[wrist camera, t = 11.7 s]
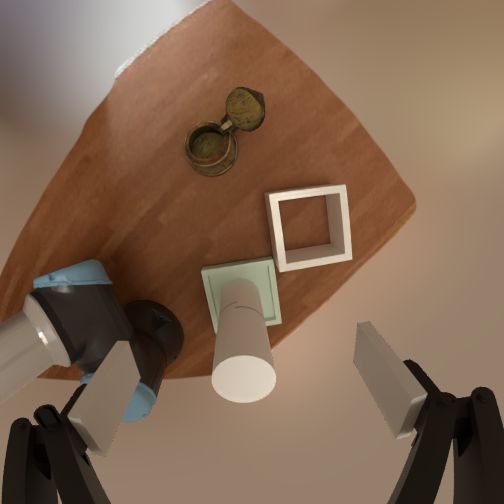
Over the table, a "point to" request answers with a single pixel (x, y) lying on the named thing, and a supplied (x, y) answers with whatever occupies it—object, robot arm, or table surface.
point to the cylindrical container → (242, 345)
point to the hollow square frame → (336, 221)
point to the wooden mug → (224, 133)
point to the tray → (249, 269)
